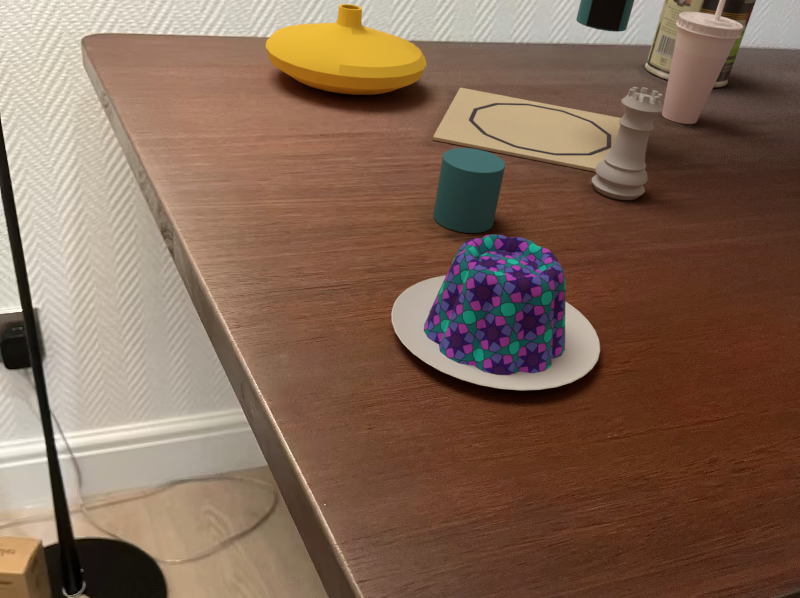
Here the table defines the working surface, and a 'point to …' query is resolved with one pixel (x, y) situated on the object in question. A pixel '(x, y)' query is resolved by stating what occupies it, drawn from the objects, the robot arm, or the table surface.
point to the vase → (345, 55)
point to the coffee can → (663, 43)
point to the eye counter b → (583, 18)
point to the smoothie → (697, 62)
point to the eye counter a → (468, 190)
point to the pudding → (498, 318)
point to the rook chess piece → (629, 148)
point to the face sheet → (528, 129)
